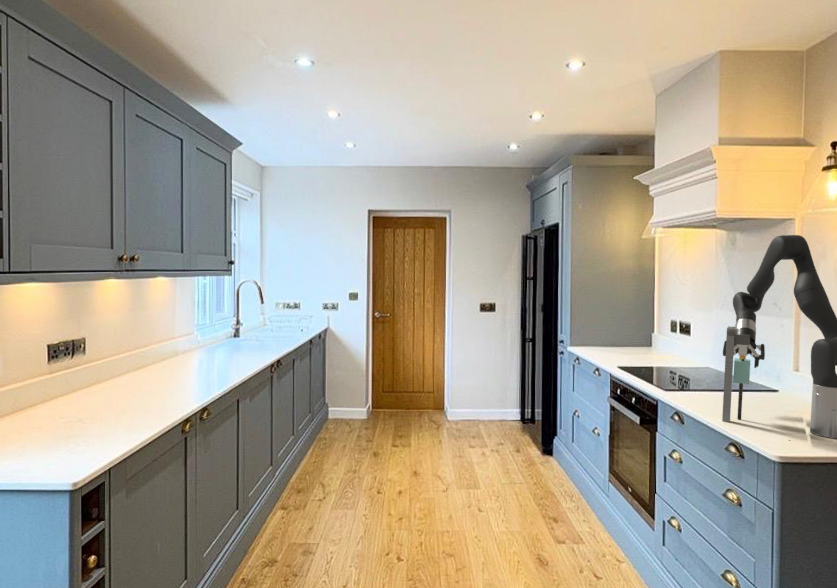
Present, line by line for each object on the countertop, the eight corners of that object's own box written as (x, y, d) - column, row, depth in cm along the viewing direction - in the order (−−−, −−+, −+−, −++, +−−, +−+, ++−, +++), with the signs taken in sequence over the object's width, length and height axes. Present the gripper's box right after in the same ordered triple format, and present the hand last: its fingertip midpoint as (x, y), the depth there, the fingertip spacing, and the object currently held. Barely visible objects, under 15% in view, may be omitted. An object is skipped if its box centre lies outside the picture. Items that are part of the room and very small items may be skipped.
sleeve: (734, 379, 213) (735, 358, 212) (749, 380, 210) (750, 359, 210) (733, 382, 207) (734, 360, 207) (748, 384, 205) (750, 362, 204)
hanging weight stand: (723, 419, 212) (728, 326, 210) (745, 422, 209) (750, 327, 206) (722, 424, 206) (726, 328, 204) (744, 427, 202) (750, 330, 200)
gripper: (724, 325, 229) (721, 357, 220) (766, 328, 221) (764, 361, 212) (724, 336, 234) (721, 368, 225) (765, 340, 226) (763, 373, 217)
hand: (742, 365), depth 218 cm, fingers open, 8 cm apart
